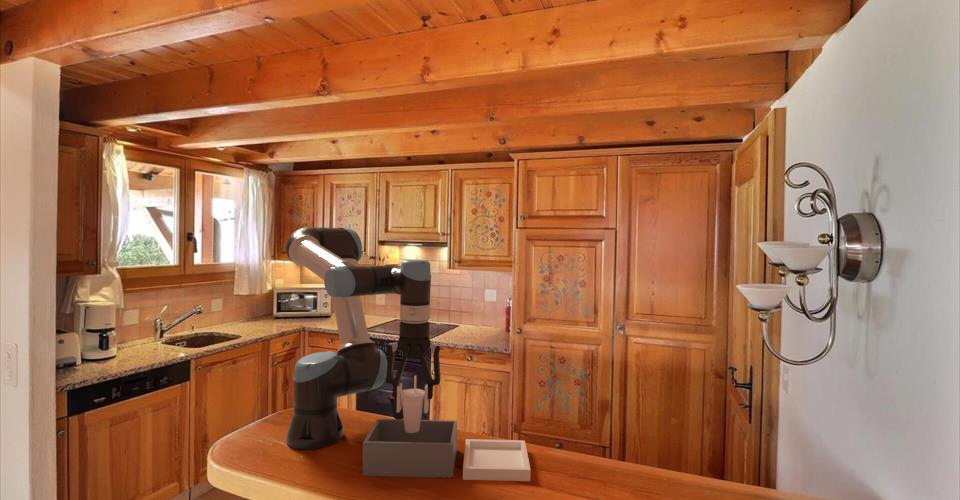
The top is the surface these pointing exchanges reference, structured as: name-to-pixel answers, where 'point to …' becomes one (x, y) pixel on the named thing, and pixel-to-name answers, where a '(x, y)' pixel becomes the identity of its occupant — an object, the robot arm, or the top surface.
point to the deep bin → (410, 449)
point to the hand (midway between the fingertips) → (412, 410)
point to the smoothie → (412, 408)
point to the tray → (496, 460)
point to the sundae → (395, 407)
